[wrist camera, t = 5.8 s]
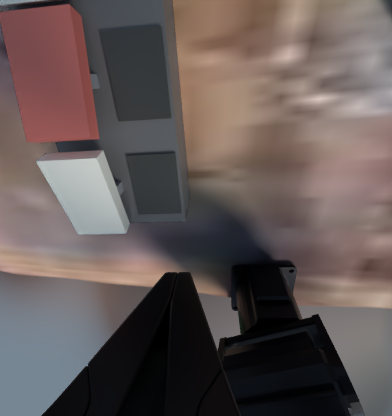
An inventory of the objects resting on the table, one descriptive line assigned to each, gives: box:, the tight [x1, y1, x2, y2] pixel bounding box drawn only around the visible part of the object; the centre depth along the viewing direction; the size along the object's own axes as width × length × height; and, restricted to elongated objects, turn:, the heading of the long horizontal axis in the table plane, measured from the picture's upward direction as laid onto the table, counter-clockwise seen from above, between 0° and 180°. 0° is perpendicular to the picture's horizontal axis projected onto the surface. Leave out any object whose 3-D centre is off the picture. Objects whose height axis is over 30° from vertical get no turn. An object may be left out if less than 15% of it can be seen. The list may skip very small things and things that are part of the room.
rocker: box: [36, 150, 130, 235], centre depth 15 cm, size 6×4×1 cm, turn 3°
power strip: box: [9, 0, 190, 223], centre depth 15 cm, size 19×8×5 cm, turn 4°
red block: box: [0, 4, 99, 143], centre depth 12 cm, size 6×4×1 cm, turn 4°
